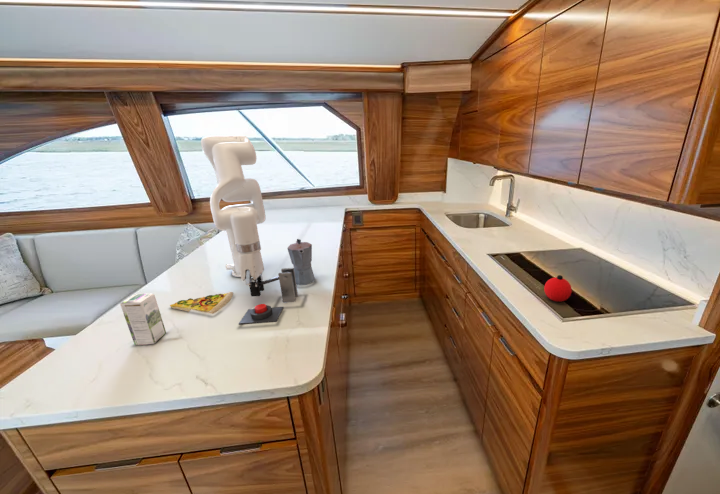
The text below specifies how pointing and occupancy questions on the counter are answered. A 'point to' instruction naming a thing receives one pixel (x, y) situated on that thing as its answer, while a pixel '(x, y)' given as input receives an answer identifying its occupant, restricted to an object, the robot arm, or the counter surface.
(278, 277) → the lever
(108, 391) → the counter surface
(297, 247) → the moka pot
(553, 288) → the ornament
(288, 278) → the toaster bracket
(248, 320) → the control block
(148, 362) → the counter surface
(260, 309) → the button
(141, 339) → the syrup box
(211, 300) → the pizza slice
